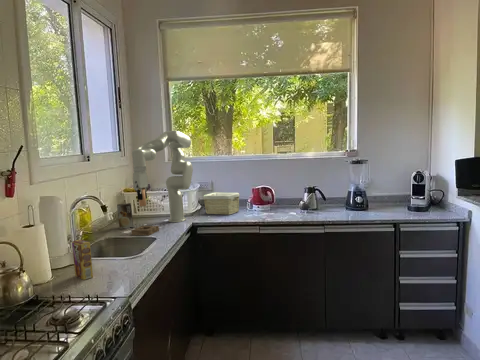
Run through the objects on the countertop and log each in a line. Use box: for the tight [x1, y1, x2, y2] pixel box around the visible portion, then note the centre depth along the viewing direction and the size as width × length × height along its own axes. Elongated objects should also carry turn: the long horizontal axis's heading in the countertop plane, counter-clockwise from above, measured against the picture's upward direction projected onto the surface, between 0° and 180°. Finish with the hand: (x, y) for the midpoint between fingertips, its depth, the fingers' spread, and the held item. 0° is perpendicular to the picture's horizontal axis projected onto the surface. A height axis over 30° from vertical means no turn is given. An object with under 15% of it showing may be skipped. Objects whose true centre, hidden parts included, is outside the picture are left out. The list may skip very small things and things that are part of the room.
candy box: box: [71, 239, 94, 281], centre depth 156 cm, size 9×4×15 cm, turn 47°
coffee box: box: [116, 202, 134, 229], centre depth 250 cm, size 9×6×16 cm
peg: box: [138, 188, 147, 207], centre depth 229 cm, size 4×4×10 cm
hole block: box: [130, 225, 160, 236], centre depth 231 cm, size 12×12×3 cm
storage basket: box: [202, 191, 241, 216], centre depth 282 cm, size 24×16×15 cm
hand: (142, 198), depth 229 cm, fingers closed on peg, 4 cm apart
